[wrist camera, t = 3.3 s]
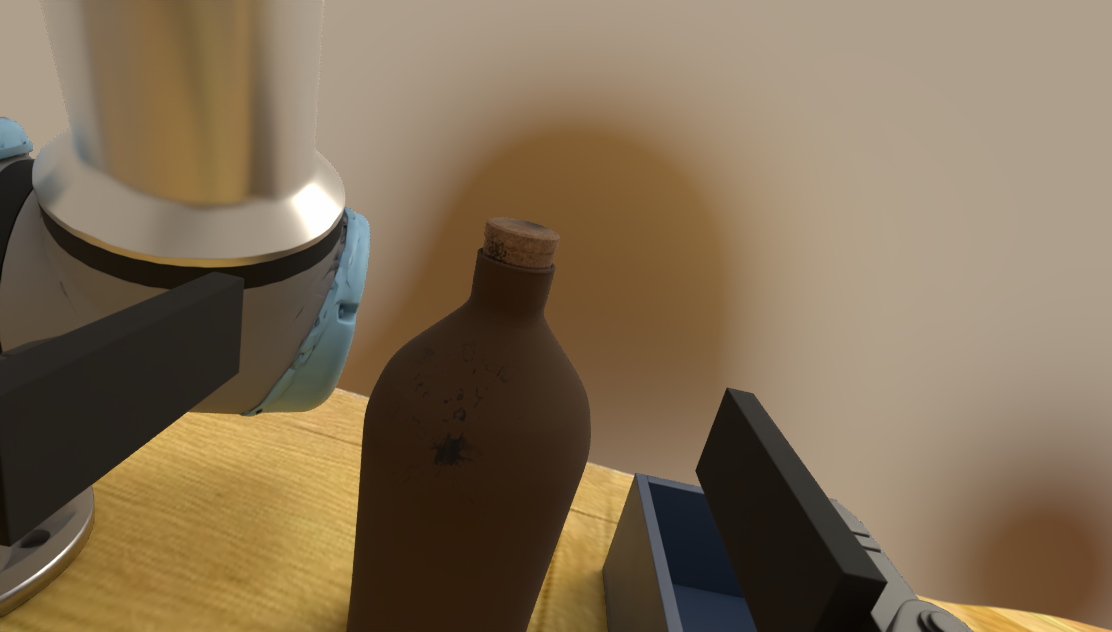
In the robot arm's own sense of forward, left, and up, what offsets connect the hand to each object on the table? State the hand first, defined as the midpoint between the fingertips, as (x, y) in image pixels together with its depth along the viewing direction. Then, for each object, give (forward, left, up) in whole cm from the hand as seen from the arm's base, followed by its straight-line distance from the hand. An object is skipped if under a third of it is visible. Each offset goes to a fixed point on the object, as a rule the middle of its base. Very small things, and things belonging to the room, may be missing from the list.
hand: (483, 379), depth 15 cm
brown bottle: (-7, +7, -23) cm, 25 cm away
